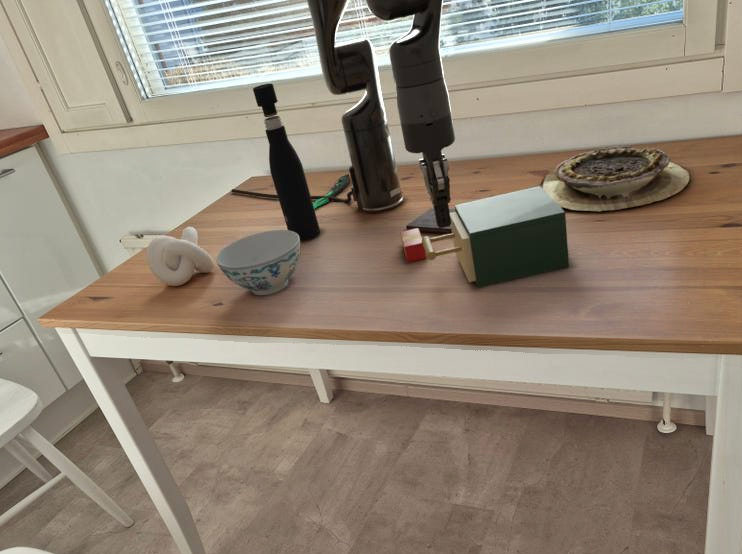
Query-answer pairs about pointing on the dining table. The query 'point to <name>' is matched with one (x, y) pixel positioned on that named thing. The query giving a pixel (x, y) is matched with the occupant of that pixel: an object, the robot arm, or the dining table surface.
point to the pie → (614, 179)
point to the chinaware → (261, 260)
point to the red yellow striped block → (413, 245)
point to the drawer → (460, 246)
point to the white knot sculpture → (177, 258)
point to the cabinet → (515, 235)
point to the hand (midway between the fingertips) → (444, 225)
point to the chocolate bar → (428, 223)
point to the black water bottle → (287, 170)
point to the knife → (334, 190)
